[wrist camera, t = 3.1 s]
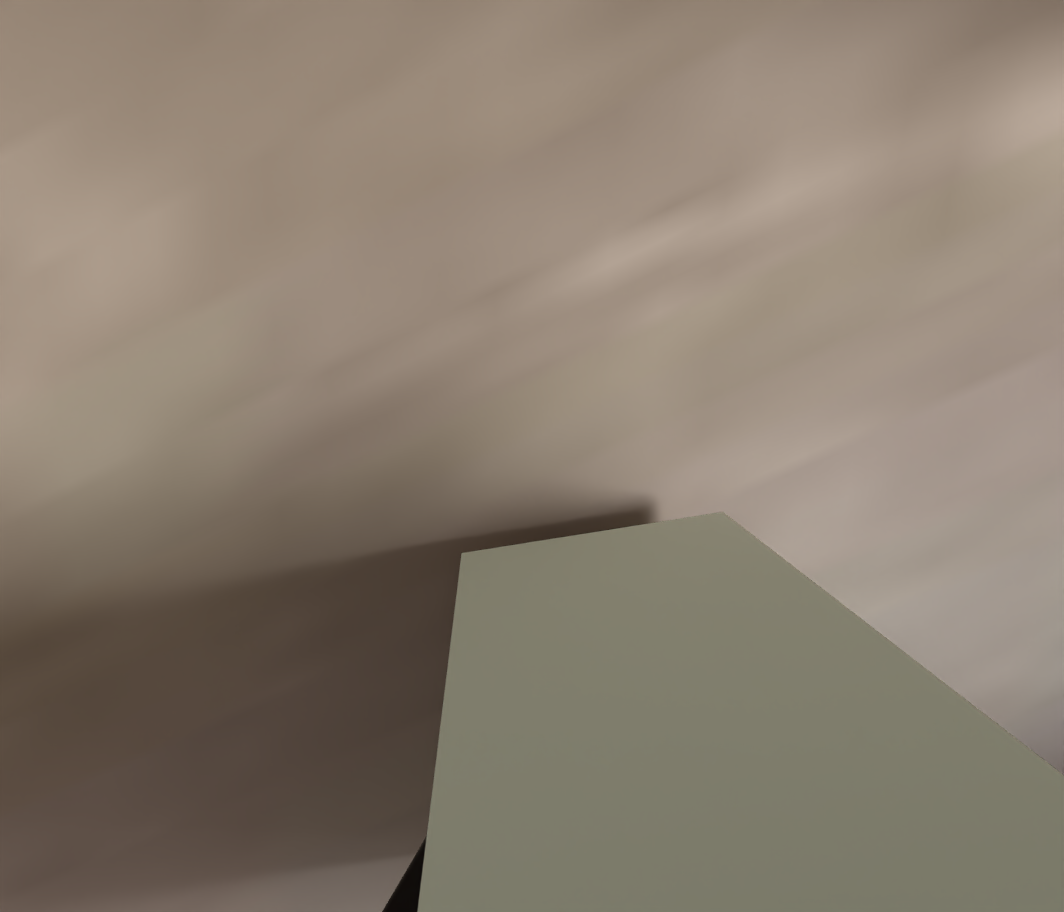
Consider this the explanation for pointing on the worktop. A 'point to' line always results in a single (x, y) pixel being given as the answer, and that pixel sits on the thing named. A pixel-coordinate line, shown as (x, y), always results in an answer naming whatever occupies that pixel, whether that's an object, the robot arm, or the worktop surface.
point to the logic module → (713, 745)
